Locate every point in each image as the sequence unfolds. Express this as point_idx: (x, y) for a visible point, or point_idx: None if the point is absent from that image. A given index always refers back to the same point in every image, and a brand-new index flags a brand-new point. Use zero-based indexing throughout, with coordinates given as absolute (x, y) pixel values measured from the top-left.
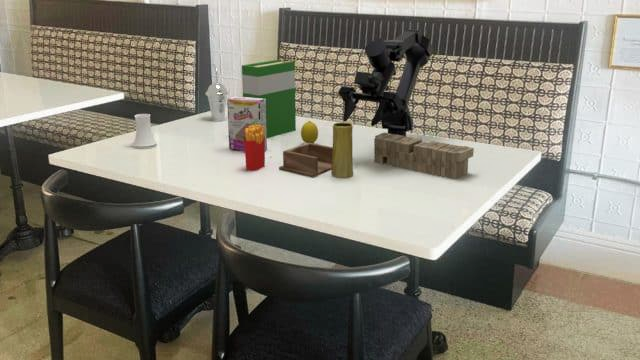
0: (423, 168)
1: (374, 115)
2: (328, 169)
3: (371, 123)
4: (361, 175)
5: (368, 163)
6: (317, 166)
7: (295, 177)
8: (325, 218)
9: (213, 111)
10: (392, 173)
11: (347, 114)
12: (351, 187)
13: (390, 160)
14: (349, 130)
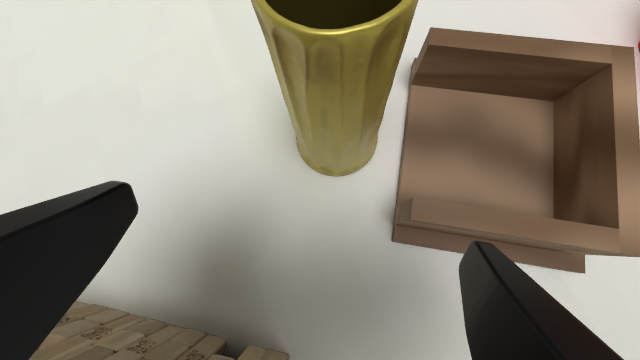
0: None
1: (9, 234)
2: (403, 150)
3: (117, 183)
4: (271, 163)
5: (305, 324)
6: (417, 67)
7: None
8: None
9: None
10: (175, 237)
11: (501, 329)
12: (256, 44)
13: (198, 342)
14: None
